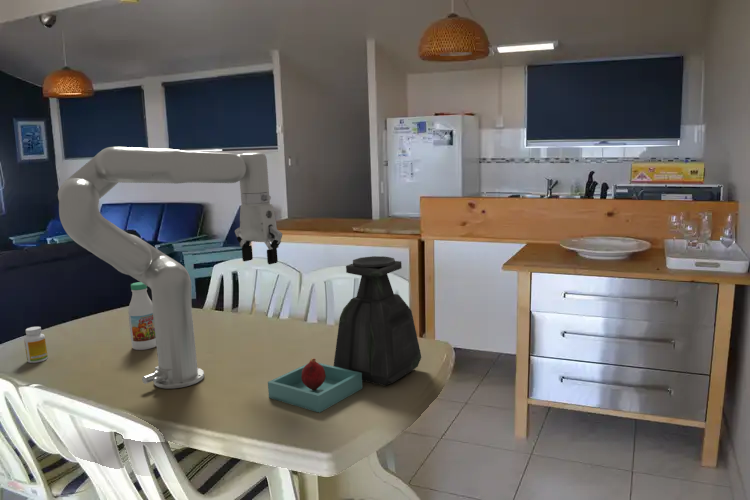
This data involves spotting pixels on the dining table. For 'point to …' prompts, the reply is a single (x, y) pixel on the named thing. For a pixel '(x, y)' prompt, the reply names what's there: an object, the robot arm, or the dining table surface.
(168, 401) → the dining table surface
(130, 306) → the milk bottle
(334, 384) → the serving dish
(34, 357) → the supplement bottle
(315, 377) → the onion
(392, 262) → the bottle
